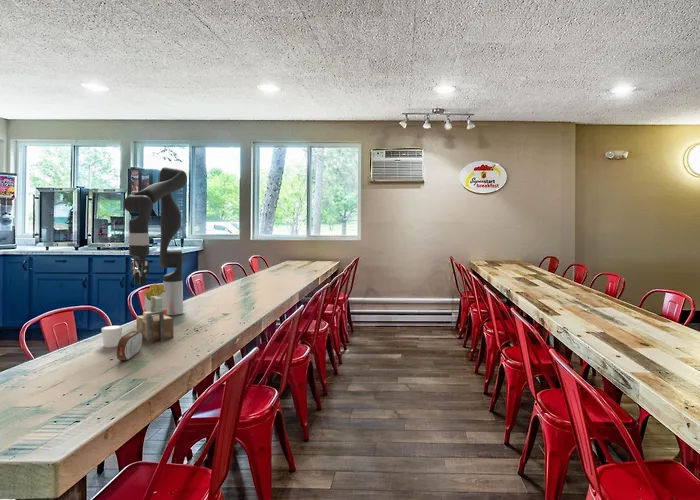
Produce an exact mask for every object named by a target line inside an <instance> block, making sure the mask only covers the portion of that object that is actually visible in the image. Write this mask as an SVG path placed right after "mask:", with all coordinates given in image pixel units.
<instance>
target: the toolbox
mask: <svg viewBox="0 0 700 500" xmlns="http://www.w3.org/2000/svg"><path fill="white" fill-rule="evenodd" d="M157 314H159V321H154V322H153V321H152V315H157ZM136 331H140V332H142V334H143V340H145V341H146V342H147V344H148V345H152V344H153V343H155V342H164V341H165V340H169V339H173V338H174V318H173V317H171V318H165V319H164V311H158V312H152V313H147V323H145V322H142V321H140V320H138V319H137V318H136Z"/></svg>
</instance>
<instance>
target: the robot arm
mask: <svg viewBox="0 0 700 500" xmlns="http://www.w3.org/2000/svg"><path fill="white" fill-rule="evenodd" d="M187 180H188V175H187V173H186V172H185V171H184V170H182V169H179V168H174V167H167V166H164V167H162V168H161V169H160V171H159V181H158V182H156V183H151V184H150V185H148V186H147V187H145V188H143V189H142V190H140V191H136V192H134V193H130V194H128V195H127V196H126V197H125V198H124V200H123V208H124V210H125V211H127V212H128V213H131V214H132V213H134V214H135V213H136V214H137V213H138V215H137V217H135V218H131V219H129V222H128V232H129V233H128V256H131V257H133V258H130V270H131V274H132V275H133V284H135V285H139V286H141V287H142V286H146V285H147V276H148V275H149V274H150V273H149V271H150V260H146V259H147V258H146V257H147V256H150V237H149V222H150V218H151V214H152V210H153V204H155V203H157V202H158V201H160V246H159V257H158V258H159V266H160V267H161V268H162V269H171V268H172V269H173V268H175V269H174V270H173V271H171V272H169V273H166V274H165V275H163V277H162V285H164V290H165V292H166V297H167V316H178V315H181V314H184V296H183V295H184V294H183V293H184V292H183V291H184V290H183V285H184V284H183V281H184V280H183V267H184V266H183V263H184V261H183V259H184V255H183V250H181V249H168V248H169V246H170V243H171V241H172V240H173V238H174V237H175V236H176V234H177V233H178V232H179V230H180V228H181V226H182V225H181V223H182V212H181V211H180V208H179V206H178V205H177V203H176V201H175V200H174V198H173V194H172V193H174V192H175V191H178V190H180V189H182V188H184V187H185V186H186V183H187Z"/></svg>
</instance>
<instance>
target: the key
mask: <svg viewBox="0 0 700 500" xmlns="http://www.w3.org/2000/svg"><path fill="white" fill-rule="evenodd" d="M147 313H152V312H150V311H147V312H145V311H143V312H142V315H143V318H145V319H147ZM152 321H153V322H154V321H159V315H158V314H157V315H152Z"/></svg>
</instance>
